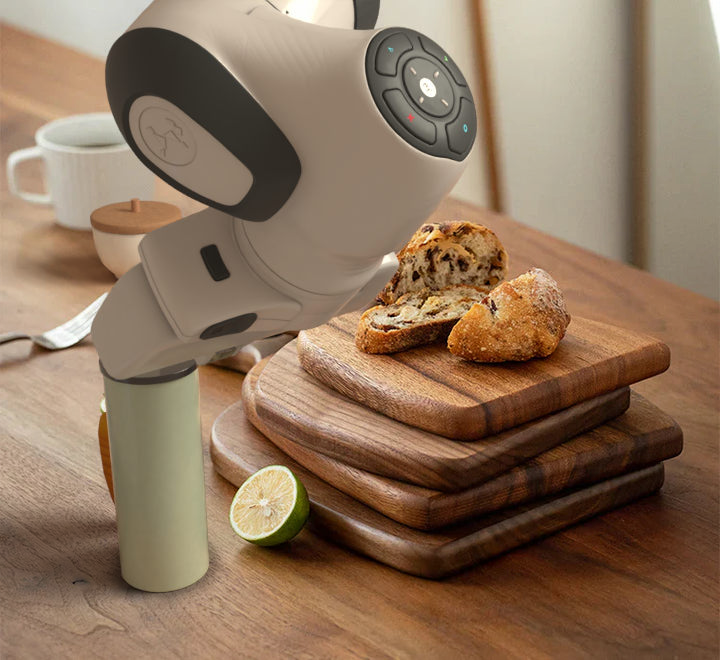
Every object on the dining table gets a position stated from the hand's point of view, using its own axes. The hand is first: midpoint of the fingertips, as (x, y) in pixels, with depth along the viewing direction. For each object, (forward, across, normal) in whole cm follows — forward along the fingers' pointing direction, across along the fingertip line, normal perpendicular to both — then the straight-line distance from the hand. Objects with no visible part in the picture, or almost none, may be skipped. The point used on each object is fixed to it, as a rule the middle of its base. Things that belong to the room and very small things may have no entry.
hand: (211, 351), depth 74 cm
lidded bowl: (+68, -33, -36) cm, 84 cm away
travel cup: (+22, 0, +10) cm, 24 cm away
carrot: (+27, -1, +5) cm, 28 cm away
